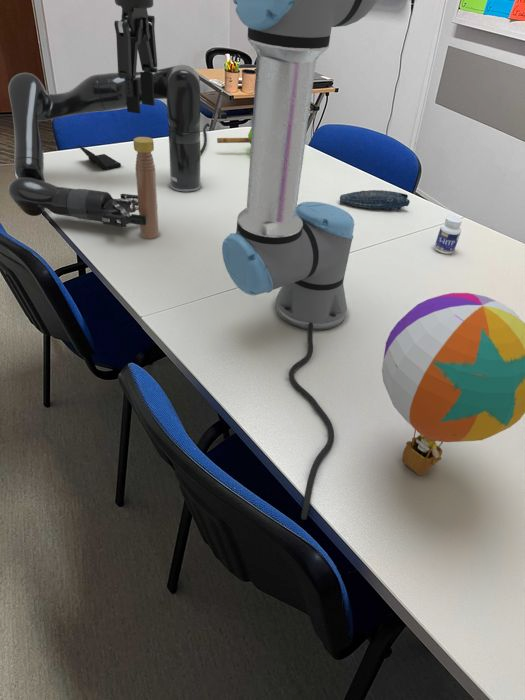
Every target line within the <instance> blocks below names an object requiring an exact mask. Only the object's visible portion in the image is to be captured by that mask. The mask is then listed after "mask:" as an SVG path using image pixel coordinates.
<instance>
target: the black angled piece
mask: <svg viewBox="0 0 525 700" xmlns="http://www.w3.org/2000/svg"><path fill="white" fill-rule="evenodd" d="M77 147H78V148H79V149H80V150H81V151H82V152H83V153H84V154H85V156H87V157H88V160H89V161H90V162H92V163H93V164H96V165H97V166H98V167H99V168H102V169H103V170H111V169H115V168H116V169H117V168H121V167H122V164H121V163H120V162H119V161H117V160H116V159H114V158H112V157H110V156H109V155H107V154H105V153H102V154H95V153H93V152H92V151H90V150H88V149H87V148H85V147H83V146H82V145H80V144H77Z"/></svg>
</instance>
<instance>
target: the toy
mask: <svg viewBox="0 0 525 700" xmlns="http://www.w3.org/2000/svg"><path fill="white" fill-rule="evenodd" d="M383 353H384V354H383V361H382V366H381V375H382V382H383V385H384V387H385V390H386V392H387V394H388V396H389V399H390V401H391V403H392V405H393V408H394V409H395V410H396V411H397V412H398V413H399V415H400V416H401V417H402V418H403V419H404V420H405V421H406V423H408V424H409V426H411V427H412V428H413V429H414V433H413V437H412V438H411V441H410V440H409V441H406V443H405V447H404V449H403V453H402V457H401V458H402V463H403V464H405V466H407V467H408V468H409V469H411V470H412V471H413V472H414V473H416V474H417V475H418V476H420V477H423V476H424V475H425V474H427V472H428V471H430V470H432V468H434V467H435V466H436V464H437V463H438V462H439V461H442V455H443V449H442V448H441V446H442V444H443V443H461V442H476V441H478V442H479V441H484V440H486V439H488V438H491V437H493V436H496V435H497V434H500V433H502V432H504V431H506V430H508V429H510V428H511V427H513V426H514V425H515V424H517V423H518V422H519V421H520V420H521V419H522V417H523V416H524V415H525V322H524V321H523V320H522V318H521V317H520V316H519V315H518V314H517V313H516V312H515V311H514V310H513V309H511V308H510V307H508V306H507V305H505V304H503V303H502V302H500V301H498V300H495V299H493V298H491V297H488V296H485V295H480V294H477V293H475V294H474V293H470V292H449V293H445V294H442V295H437V296H433V297H431V298H428V299H426V300H424V301H421V302H420V303H417V304H416V305H415V306H414V307H413V308H411V309H410V310H409V311H408V312H407V313H406V314H405V315H404V316H402V317H401V318H400V320H399V321H397V323H396V324H395V325H394V327H393V328H392V329H391V331H390V332H389V334H388V337H387V340H386V341H385V347H384V352H383ZM417 433H418V434H419V435H417V436H416V434H417ZM437 442H439V445H437Z"/></svg>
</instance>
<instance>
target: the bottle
mask: <svg viewBox="0 0 525 700" xmlns="http://www.w3.org/2000/svg"><path fill="white" fill-rule="evenodd" d="M134 168H135V180H136V193H137V194H136V195H138V207H139V210H138V215H143V216H146V217H147V224H146V225H139V230H140V231H139V232H140V237H141V238H143V239H147V240H152V239H153V240H154V239H156V238H158V237H159V235H160V231H159V212H158V211H159V210H158V209H157V208H158V195H157V176H156V175H157V174H156V165H155V161H154V157H153V154H152V152H148V153H141V152H137V151H136V160H135V167H134Z"/></svg>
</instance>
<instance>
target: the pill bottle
mask: <svg viewBox="0 0 525 700" xmlns="http://www.w3.org/2000/svg"><path fill="white" fill-rule="evenodd" d="M462 222H463V219H461V218H460V217H458V216H455V215H448V216H446V218H445V220H444V223H443V224H442V225H440V228H439V231H438V234H437V237H436V240H435V243H434V250H435V251H437V252H439V253H441V254H447V255H449V254H453V253H454V252H455V250H456V247H457V244H458V242H459V239H460V236H461V233H462V229H461V225H462Z"/></svg>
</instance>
